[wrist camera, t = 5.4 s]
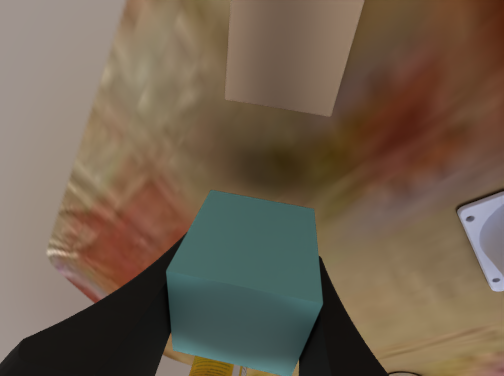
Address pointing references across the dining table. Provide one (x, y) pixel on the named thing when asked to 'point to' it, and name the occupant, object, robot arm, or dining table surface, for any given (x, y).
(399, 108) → the dining table surface
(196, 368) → the supplement bottle
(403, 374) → the supplement bottle
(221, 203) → the teal block
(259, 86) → the tan cube
